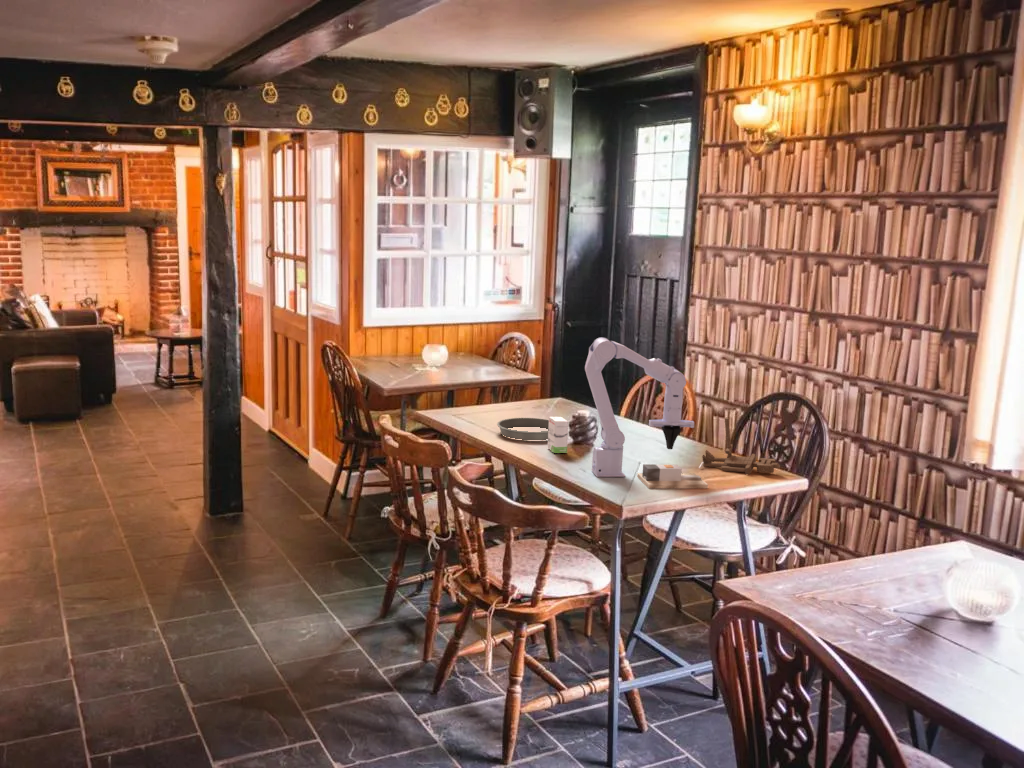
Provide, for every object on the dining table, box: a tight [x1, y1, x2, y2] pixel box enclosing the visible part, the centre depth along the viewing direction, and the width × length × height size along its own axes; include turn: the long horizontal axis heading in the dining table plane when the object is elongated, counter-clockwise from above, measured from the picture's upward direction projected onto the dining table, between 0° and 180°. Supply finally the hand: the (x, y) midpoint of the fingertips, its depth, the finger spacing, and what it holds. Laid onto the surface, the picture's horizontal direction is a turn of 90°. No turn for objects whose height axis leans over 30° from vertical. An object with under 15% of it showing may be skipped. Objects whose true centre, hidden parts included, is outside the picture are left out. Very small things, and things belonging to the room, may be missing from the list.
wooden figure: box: [698, 417, 781, 474], centre depth 316 cm, size 14×18×25 cm
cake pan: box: [496, 417, 549, 440], centre depth 358 cm, size 25×25×4 cm
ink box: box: [547, 416, 569, 454], centre depth 334 cm, size 9×5×12 cm, turn 15°
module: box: [656, 464, 683, 481], centre depth 299 cm, size 7×5×4 cm
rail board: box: [637, 463, 709, 489], centre depth 299 cm, size 19×13×5 cm
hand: (669, 448), depth 307 cm, fingers closed
